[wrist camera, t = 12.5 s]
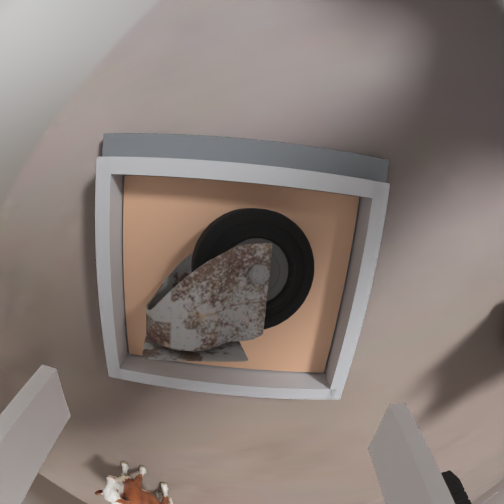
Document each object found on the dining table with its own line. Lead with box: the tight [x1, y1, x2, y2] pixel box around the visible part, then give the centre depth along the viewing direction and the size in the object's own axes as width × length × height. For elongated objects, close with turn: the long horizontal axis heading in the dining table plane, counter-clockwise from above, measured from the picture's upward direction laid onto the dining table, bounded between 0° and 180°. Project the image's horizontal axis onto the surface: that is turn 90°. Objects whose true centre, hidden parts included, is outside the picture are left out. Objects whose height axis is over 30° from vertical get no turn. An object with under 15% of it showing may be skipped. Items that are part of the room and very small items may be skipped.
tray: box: [95, 133, 390, 399], centre depth 25 cm, size 22×22×4 cm
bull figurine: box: [95, 461, 173, 504], centre depth 30 cm, size 4×13×8 cm, turn 23°
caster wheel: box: [142, 208, 314, 362], centre depth 22 cm, size 7×11×10 cm
